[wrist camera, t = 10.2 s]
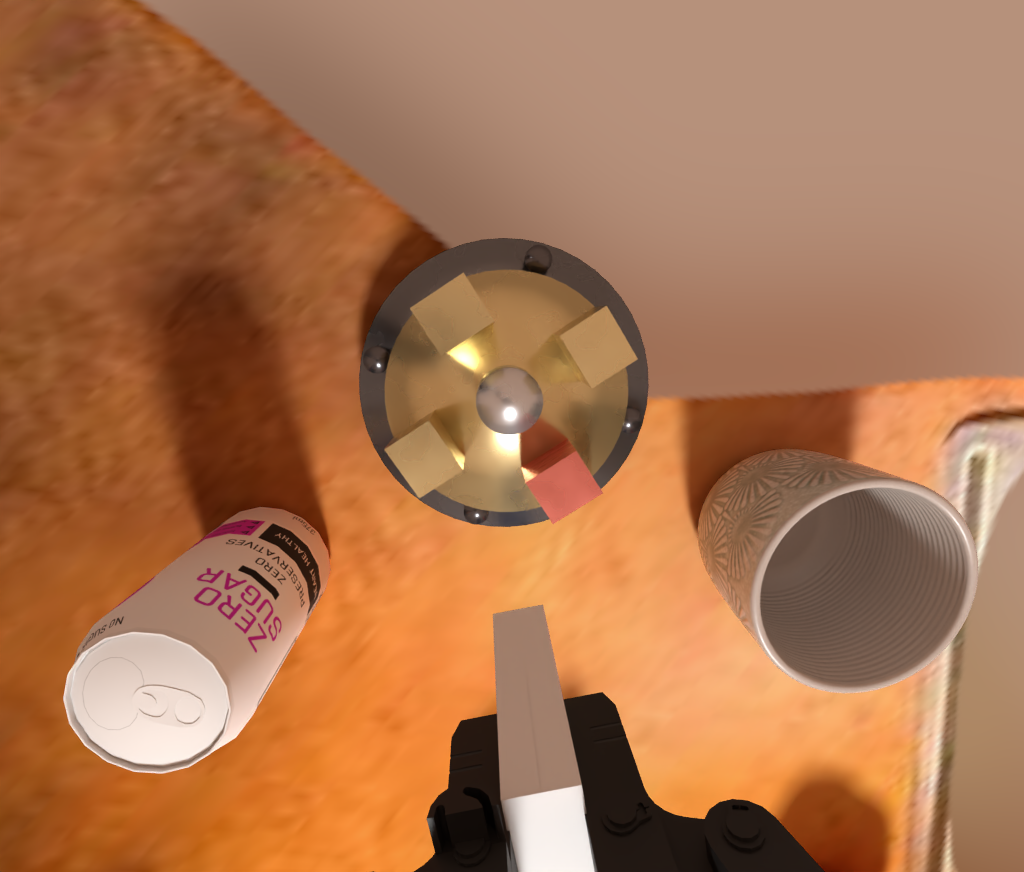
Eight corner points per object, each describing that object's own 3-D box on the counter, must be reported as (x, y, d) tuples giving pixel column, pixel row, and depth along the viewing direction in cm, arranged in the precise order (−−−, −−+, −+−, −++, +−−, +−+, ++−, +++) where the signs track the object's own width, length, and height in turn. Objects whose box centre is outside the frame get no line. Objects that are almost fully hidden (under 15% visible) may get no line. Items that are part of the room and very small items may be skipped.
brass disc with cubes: (473, 538, 37) (472, 578, 31) (345, 356, 34) (318, 364, 28) (658, 423, 36) (690, 442, 30) (541, 225, 33) (554, 206, 27)
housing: (311, 339, 36) (268, 344, 29) (552, 187, 35) (571, 152, 28) (461, 560, 40) (456, 614, 33) (684, 428, 39) (731, 454, 31)
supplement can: (201, 598, 39) (36, 763, 25) (225, 489, 38) (64, 597, 23) (317, 626, 40) (223, 802, 26) (345, 521, 39) (262, 644, 24)
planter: (649, 493, 40) (711, 558, 29) (805, 401, 39) (928, 432, 28) (727, 627, 42) (811, 732, 31) (876, 543, 41) (1013, 622, 31)
